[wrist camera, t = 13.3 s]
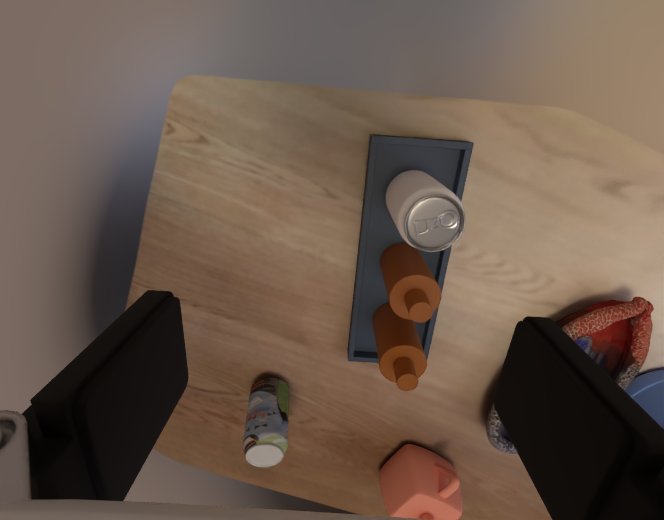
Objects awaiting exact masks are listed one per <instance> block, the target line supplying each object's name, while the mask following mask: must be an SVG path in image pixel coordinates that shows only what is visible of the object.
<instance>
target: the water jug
mask: <svg viewBox="0 0 664 520" xmlns="http://www.w3.org/2000/svg"><path fill="white" fill-rule="evenodd" d="M624 391H625V392H626V393H627V394H628V395H629V396H630V397H631V398H632V399H634V400H635V401H636V402H637V403H638V404H639V405H640V406H641V407H642V408H643V409H644V410H645V411H646V412H647V413H648V414H649V415H650V416H651V417H652V418H653V419H654V420H655V421H656V422H657V423H658V424H659V425H660V426H661V427H662V428H663V429H664V370H657V371H652V372H649V373H646V374H643V375H640V376H638V377H636V378H634V379H633V380H632V381H631V383H630V384H629V385H628V386H627V387H626V389H625V390H624Z"/></svg>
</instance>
